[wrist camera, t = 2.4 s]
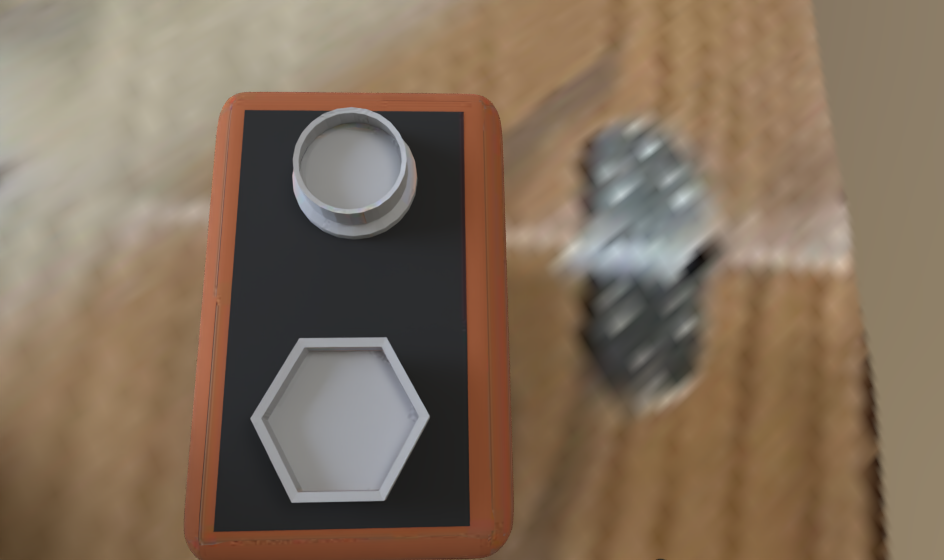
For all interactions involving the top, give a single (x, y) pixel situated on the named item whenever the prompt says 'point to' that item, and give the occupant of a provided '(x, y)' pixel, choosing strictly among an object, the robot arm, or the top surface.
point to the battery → (353, 332)
